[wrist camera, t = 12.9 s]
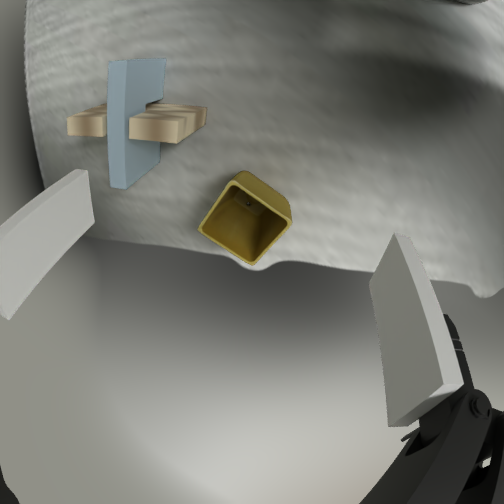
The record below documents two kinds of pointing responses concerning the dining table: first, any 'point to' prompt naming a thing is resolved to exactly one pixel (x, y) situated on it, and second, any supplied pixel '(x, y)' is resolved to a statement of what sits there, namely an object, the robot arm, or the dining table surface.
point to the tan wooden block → (143, 122)
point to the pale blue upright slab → (128, 105)
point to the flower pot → (247, 218)
